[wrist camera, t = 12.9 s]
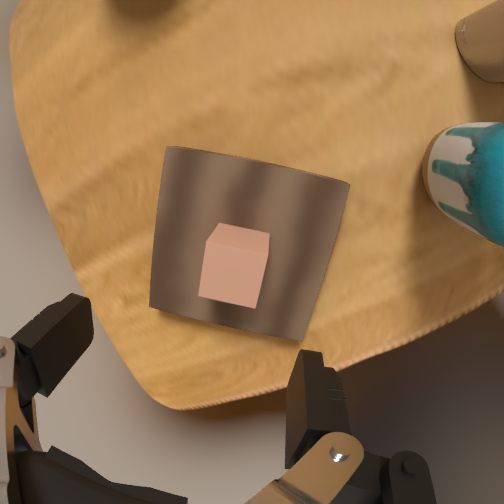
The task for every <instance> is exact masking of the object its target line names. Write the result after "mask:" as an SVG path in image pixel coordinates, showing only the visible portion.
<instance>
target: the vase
mask: <svg viewBox="0 0 504 504" xmlns="http://www.w3.org/2000/svg"><path fill="white" fill-rule="evenodd" d="M422 174H423V181H424V185H425V188H426V191H427V193H428V195H429V197H430V199H431V201H432V202H433V203H434V205H435V206H436V207H437V208H438V209H439V210H440V211H441V212H442V213H443V214H445V215H446V216H447V217H449V218H450V219H452V220H453V221H455V222H456V223H457V224H459V225H461V226H462V227H464V228H466V229H468V230H469V231H471V232H473V233H475V234H477V235H479V236H481V237H483V238H485V239H487V240H489V241H491V242H493V243H496V244H498V245H501V246H504V123H499V122H475V123H465V124H460V125H456V126H452V127H449V128H447V129H445V130H443V131H441V132H440V133H438V134H437V135H436V136H435V137H434V138H433V139H432V140H431V142H430V143H429V145H428V147H427V149H426V151H425V154H424V158H423V164H422Z"/></svg>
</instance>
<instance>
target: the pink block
mask: <svg viewBox="0 0 504 504" xmlns="http://www.w3.org/2000/svg"><path fill="white" fill-rule="evenodd" d="M269 238H270V233H265V232H261V231H256V230H251V229H247V228H242V227H237V226H232V225H228V224H223V223H219V224H218V225H217V227H216V228H215V230H214V231H213V232H212V234H211V235H210V237H209V238H208V239H207V241H206V246H205V252H204V259H203V266H202V273H201V280H200V287H199V294H198V296H201V297H205V298H209V299H214V300H218V301H223V302H227V303H232V304H236V305H241V306H246V307H250V308H255V309H256V305H257V300H258V296H259V292H260V288H261V284H262V279H263V275H264V271H265V267H266V262H267V258H268V252H269Z"/></svg>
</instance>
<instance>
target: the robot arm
mask: <svg viewBox="0 0 504 504" xmlns="http://www.w3.org/2000/svg"><path fill="white" fill-rule="evenodd" d="M455 36H456V42H457V46H458V49H459V51H460V54H461V55H462V57H463V59H464V61H465V62H466V64H467V65H468V66H469V68H470V69H471V70H472V71H473V72H474V73H475V74H476V75H477V76H479V77H480V78H482V79H483V80H485V81H488V82H492V83H496V82H503V83H504V0H497V1H495V2H493V3H491V4H489V5H487V6H485V7H484V8H482V9H480V10H478V11H476V12H474V13H472V14H471V15H469V16H467V17H465V18H463V19H462V20H460V21H459V22H458V24H457V26H456V31H455ZM93 335H94V328H93V320H92V311H91V302H90V300H89V298H86V297H83V296H80V295H77V294H74V293H71V294H69V295H68V296H67V297H65V298H64V299H63V300H62V301H61V302H56V303H54V304H52V305H49V306H47V307H46V308H45V309H44V310H43V311H41V312H40V314H38V315H37V316H35V317H34V319H33V320H31V321H30V322H29V323H27V324H26V325H25V326H24V327H23V328H22V329H21V330H19V331H18V332H17V333H16V334H15V335H14V336H13V337H12V338H10V339H9V338H7V337H0V504H187V503H188V498H186V497H182V496H178V495H174V494H171V493H167V492H164V491H160V490H157V489H153V488H150V487H141V486H133V485H126V484H119V483H114V482H111V481H108V480H107V479H105V478H104V477H103V476H101V475H100V474H98V473H97V472H96V471H94V470H93V469H92V468H90V467H89V466H88V465H86V464H85V463H84V462H82V461H81V460H79V459H77V458H75V457H73V456H71V455H69V454H67V453H65V452H63V451H61V450H60V449H58V448H56V447H54V446H51V448H50V449H49V451H48V452H43V450H42V447H41V445H40V441H39V436H38V427H37V417H36V403H35V398H34V395H35V394H36V393H37V392H38V393H40V394H42V395H44V396H45V397H48V396H49V395H50V394H51V393H52V391H53V390H54V389H55V387H56V386H57V385H58V384H59V382H60V381H61V380H62V379H63V377H64V376H65V375H66V374H67V372H68V371H69V370H70V369H71V367H72V366H73V365H74V364H75V362H76V361H77V360H78V359H79V358H80V356H81V355H82V354H83V353H84V351H85V350H86V349H87V348H88V347H89V345H90V344H91V342H92V340H93ZM344 399H345V398H344V393H343V388H342V383H341V378H340V377H339V375H338V374H337V373H336V371H335V370H334V368H330V367H324V362H323V356H322V353H321V352H316V351H310V350H303V349H301V350H300V351H299V354H298V356H297V359H296V362H295V365H294V368H293V371H292V373H291V376H290V379H289V382H288V387H287V395H286V445H285V469H290V470H289V471H288V472H286V473H285V474H284V475H283V476H282V477H281V478H279V479H278V480H276V479H275V480H273V481H272V482H271V483H269V484H268V485H267V486H265V487H264V488H263V489H262V490H261V491H259V492H258V493H257V494H256V495H255V496H254V497H252V498H251V499H250V500H248V501H247V502H246V503H245V504H436V499H435V494H434V489H433V484H432V480H431V476H430V472H429V468H428V465H427V463H426V461H425V460H424V459H423V458H422V457H421V456H420V455H418V454H417V453H414V452H411V451H402V452H398V453H396V454H395V455H394V456H393V457H392V458H391V459H389V458H385V457H381V456H377V455H374V454H370V453H368V452H366V451H364V450H363V447H362V445H361V444H360V442H359V441H358V440H357V439H356V438H354V437H353V436H352V435H351V431H350V425H349V419H348V414H347V408H346V403H345V401H344Z"/></svg>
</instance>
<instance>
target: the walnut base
mask: <svg viewBox="0 0 504 504" xmlns="http://www.w3.org/2000/svg"><path fill="white" fill-rule="evenodd" d="M349 188H350V184H348V183H346V182H344V181H341V180H337V179H333V178H330V177H326V176H322V175H318V174H314V173H310V172H306V171H302V170H298V169H293V168H289V167H285V166H280V165H276V164H271V163H267V162H262V161H257V160H252V159H247V158H242V157H237V156H232V155H226V154H221V153H215V152H210V151H204V150H198V149H191V148H185V147H178V146H166V151H165V157H164V164H163V170H162V177H161V184H160V191H159V199H158V207H157V215H156V224H155V234H154V244H153V255H152V268H151V282H150V300H149V307H151V308H155V309H159V310H162V311H166V312H170V313H174V314H178V315H181V316H185V317H189V318H193V319H198V320H202V321H206V322H210V323H214V324H219V325H223V326H228V327H232V328H237V329H241V330H246V331H251V332H255V333H260V334H265V335H270V336H276V337H281V338H286V339H292V340H297V341H303V338H304V335H305V332H306V329H307V326H308V324H309V321H310V318H311V315H312V312H313V309H314V306H315V303H316V300H317V297H318V294H319V291H320V288H321V285H322V282H323V279H324V276H325V272H326V269H327V266H328V263H329V259H330V256H331V253H332V249H333V246H334V243H335V239H336V236H337V232H338V229H339V225H340V222H341V218H342V215H343V211H344V207H345V203H346V200H347V196H348V192H349ZM219 223H223V224H228V225H232V226H237V227H242V228H247V229H251V230H256V231H261V232H265V233H270V238H269V252H268V258H267V262H266V267H265V271H264V275H263V279H262V284H261V288H260V292H259V296H258V300H257V305H256V309H255V308H250V307H246V306H241V305H236V304H232V303H227V302H223V301H218V300H214V299H209V298H205V297H201V296H198V294H199V287H200V280H201V273H202V266H203V259H204V252H205V246H206V241H207V239H208V238H209V237H210V235H211V234H212V232H213V231H214V230H215V228H216V227H217V225H218V224H219Z"/></svg>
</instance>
